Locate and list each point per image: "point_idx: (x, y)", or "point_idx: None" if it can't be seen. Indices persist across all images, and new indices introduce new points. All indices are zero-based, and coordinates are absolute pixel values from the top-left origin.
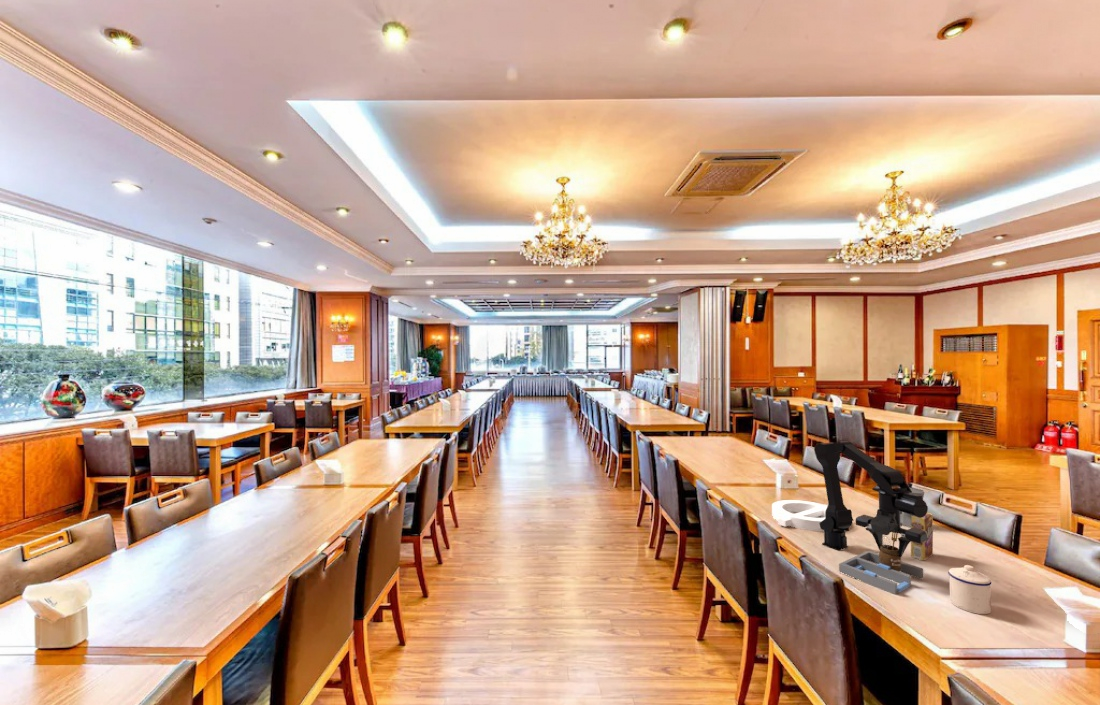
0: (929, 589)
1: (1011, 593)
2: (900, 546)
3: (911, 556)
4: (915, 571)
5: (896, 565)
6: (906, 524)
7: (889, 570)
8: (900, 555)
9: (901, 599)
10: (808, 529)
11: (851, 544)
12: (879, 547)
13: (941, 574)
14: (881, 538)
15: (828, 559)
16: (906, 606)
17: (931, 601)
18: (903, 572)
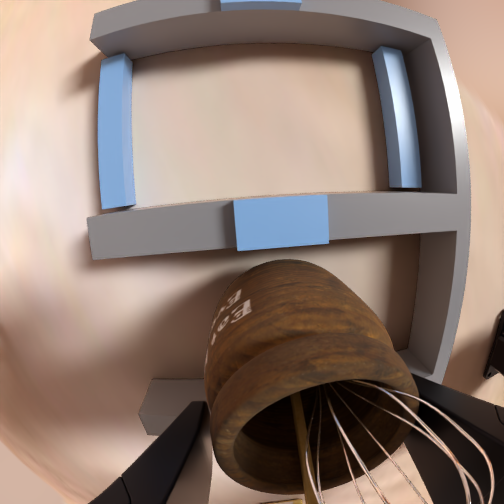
0: (63, 285)
1: (35, 454)
2: (139, 502)
3: (299, 500)
4: (172, 400)
5: (215, 315)
6: None
7: (222, 200)
8: (185, 410)
9: (84, 32)
10: None
11: None
12: (417, 383)
13: None
14: (444, 486)
15: (501, 166)
16: (60, 10)
17: (11, 153)
18: None
